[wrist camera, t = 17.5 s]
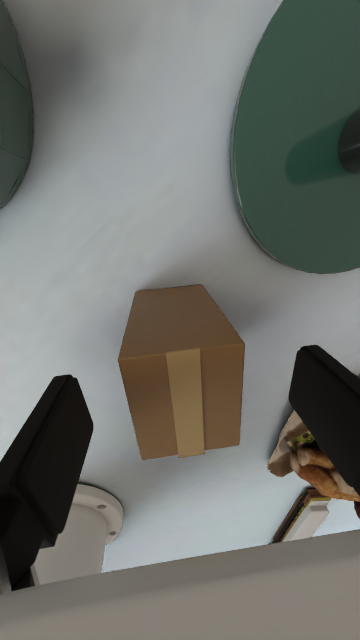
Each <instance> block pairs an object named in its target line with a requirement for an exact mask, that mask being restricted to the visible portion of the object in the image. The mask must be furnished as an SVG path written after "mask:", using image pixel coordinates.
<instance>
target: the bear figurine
mask: <svg viewBox="0 0 360 640" xmlns="http://www.w3.org/2000/svg"><path fill="white" fill-rule="evenodd" d="M267 469H268V470H271V471H270V472H271V473H272V474H274V475H276V476H278V477H283V476H285V475H286V474H288V473H290V472H292V471H293V470H294V471H295V472H296V473H297V475H298V476H299V477H300V478H302V479H304V480H306V481H308V482H309V483H310V484H311V485H312V486H314V487H315V488H316V489H317V490H318V492H319V493H320V494H322V495H324V496H328V497H331V498H335V499H344V500H348V501H354V509H355V511H356V513H357V516H358V517H359V518H360V497H359V495H358V494H357V492H356V491H355V490H354V488H353V487H350V486H348V485H347V484H346V482H345V481H344V480H343V478H342V477H341V475H340V474H339V473H338V471H337V470H336V468H335V467H334V466H333V464H332V463H331V461H330V460H329V458H328V457H327V456H326V454H325V453H324V451H323V450H322V448H321V447H320V446H319V444H318V443H317V441H316V440H315V439H314V437H313V436H312V434H311V433H310V431H309V430H308V429H307V427H306V426H305V424H304V423H303V421H302V420H301V419H300V417H299V416H298V414H297V413H296V412H295V410H294V411H293V413H292V414H291V416H290V418H289V419H288V421H287V423H286V424H285V426H284V428H283V429H282V431H281V433H280V436H279V440H278V445H277V447H276V449H275V450H274V452H273V454H272V456H271V458H270V460H269V462H268V466H267Z"/></svg>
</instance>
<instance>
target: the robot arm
mask: <svg viewBox="0 0 360 640" xmlns="http://www.w3.org/2000/svg"><path fill="white" fill-rule="evenodd" d="M289 402H290V404H291V406H292V407H293V409H294V410H295V412H296V413H297V414H298V416H299V417H300V419H301V420H302V421H303V423H304V424H305V426H306V427H307V429H308V430H309V431H310V433H311V434H312V436H313V437H314V439H315V440H316V441H317V443H318V444H319V446H320V447H321V448H322V450H323V451H324V453H325V454H326V456H327V457H328V458H329V460H330V461H331V463H332V464H333V466H334V467H335V468H336V470H337V471H338V473H339V474H340V475H341V477H342V478H343V480H344V481H345V482H346V484H347V485H348V486H350V487H353V488H354V490H355V491H356V492H357V494H358V495H359V497H360V379H359V378H358V377H357V376H355V375H354V374H353V373H352V372H350V371H349V370H348V369H347V368H345V367H344V366H343V365H342V364H341V363H339V362H338V361H337V360H336V359H334V358H333V357H332V356H331V355H329V354H328V353H327V352H326V351H325V350H323V349H322V348H321V347H320V346H318V345H310V346H303V347H301V348H300V350H299V351H298V352H297V355H296V360H295V365H294V370H293V376H292V381H291V386H290V391H289ZM92 433H93V421H92V419H91V416H90V413H89V410H88V407H87V405H86V402H85V399H84V396H83V394H82V391H81V388H80V385H79V383H78V380H77V378H73V377H72V375H62V376H55V377H54V378H53V379H52V381H51V382H50V384H49V386H48V387H47V389H46V390H45V392H44V394H43V395H42V397H41V398H40V400H39V402H38V403H37V405H36V406H35V408H34V410H33V411H32V413H31V414H30V416H29V417H28V419H27V420H26V422H25V424H24V425H23V427H22V428H21V430H20V431H19V433H18V435H17V436H16V438H15V439H14V441H13V443H12V444H11V446H10V447H9V449H8V451H7V452H6V454H5V455H4V457H3V458H2V460H1V462H0V640H360V529H359V530H353V531H347V532H340V533H334V534H328V535H322V536H316V537H310V538H304V539H298V540H292V541H286V542H280V543H274V544H268V545H262V546H256V547H250V548H244V549H238V550H232V551H226V552H221V553H215V554H209V555H203V556H197V557H191V558H185V559H180V560H174V561H168V562H162V563H157V564H151V565H145V566H140V567H134V568H128V569H122V570H117V571H111V572H105V573H101V571H102V564H103V558H104V551H105V545H107V544H108V543H110V542H111V541H113V540H114V539H115V538H116V537H117V535H118V534H119V533H120V531H121V529H122V525H123V509H122V506H121V504H120V503H119V502H118V500H117V499H116V498H114V497H113V496H112V495H111V494H109V493H107V492H105V491H103V490H101V489H98V488H95V487H92V486H88V485H83V484H78V481H79V477H80V474H81V471H82V467H83V464H84V460H85V457H86V453H87V450H88V447H89V443H90V440H91V436H92Z"/></svg>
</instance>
